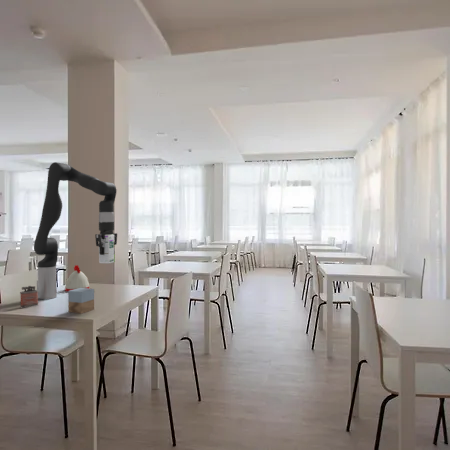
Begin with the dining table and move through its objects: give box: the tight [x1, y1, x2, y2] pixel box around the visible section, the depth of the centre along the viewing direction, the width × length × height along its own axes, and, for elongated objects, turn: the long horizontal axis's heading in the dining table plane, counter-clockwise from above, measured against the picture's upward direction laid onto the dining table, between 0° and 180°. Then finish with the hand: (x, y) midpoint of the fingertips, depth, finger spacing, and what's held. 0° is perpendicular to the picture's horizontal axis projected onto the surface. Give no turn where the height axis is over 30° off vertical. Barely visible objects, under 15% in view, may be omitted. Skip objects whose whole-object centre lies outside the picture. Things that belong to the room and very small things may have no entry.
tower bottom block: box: [67, 298, 95, 314], centre depth 172 cm, size 8×8×5 cm
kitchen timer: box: [64, 264, 90, 292], centre depth 227 cm, size 14×14×15 cm
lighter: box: [19, 285, 39, 308], centre depth 183 cm, size 8×3×10 cm, turn 134°
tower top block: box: [67, 287, 95, 303], centre depth 172 cm, size 8×8×5 cm
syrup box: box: [98, 234, 116, 264], centre depth 186 cm, size 6×6×14 cm
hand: (106, 254), depth 186 cm, fingers closed on syrup box, 6 cm apart
